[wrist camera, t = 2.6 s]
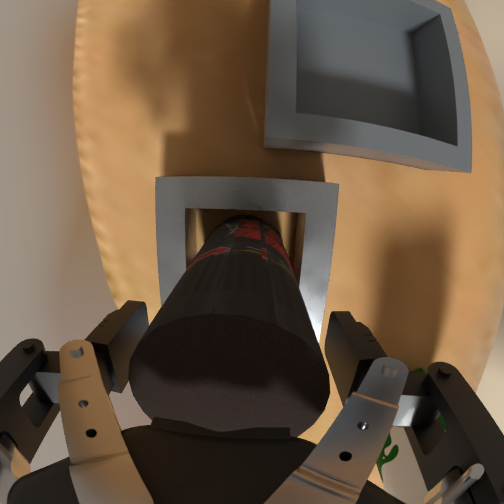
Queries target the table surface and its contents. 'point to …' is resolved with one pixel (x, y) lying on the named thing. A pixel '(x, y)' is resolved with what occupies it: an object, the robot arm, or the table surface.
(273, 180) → the socket collar
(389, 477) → the milk carton
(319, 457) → the robot arm
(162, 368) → the deodorant
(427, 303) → the table surface
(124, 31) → the table surface
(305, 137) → the bin
